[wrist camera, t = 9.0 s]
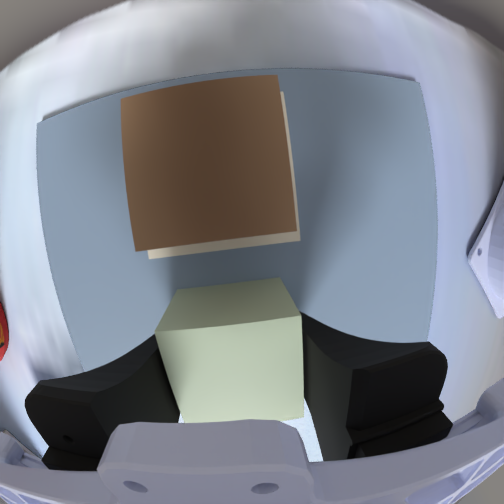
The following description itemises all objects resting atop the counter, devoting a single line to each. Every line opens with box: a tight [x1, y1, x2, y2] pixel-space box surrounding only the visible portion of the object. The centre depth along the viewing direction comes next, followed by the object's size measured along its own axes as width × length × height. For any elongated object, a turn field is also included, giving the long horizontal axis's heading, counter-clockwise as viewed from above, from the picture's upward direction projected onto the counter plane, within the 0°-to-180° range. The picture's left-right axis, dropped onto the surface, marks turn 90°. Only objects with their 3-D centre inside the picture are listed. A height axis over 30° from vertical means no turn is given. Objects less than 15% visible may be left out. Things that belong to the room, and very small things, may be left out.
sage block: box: [154, 277, 304, 423], centre depth 10 cm, size 4×4×4 cm
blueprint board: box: [36, 68, 438, 372], centre depth 12 cm, size 20×15×1 cm
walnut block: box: [121, 75, 297, 252], centre depth 9 cm, size 4×4×4 cm
